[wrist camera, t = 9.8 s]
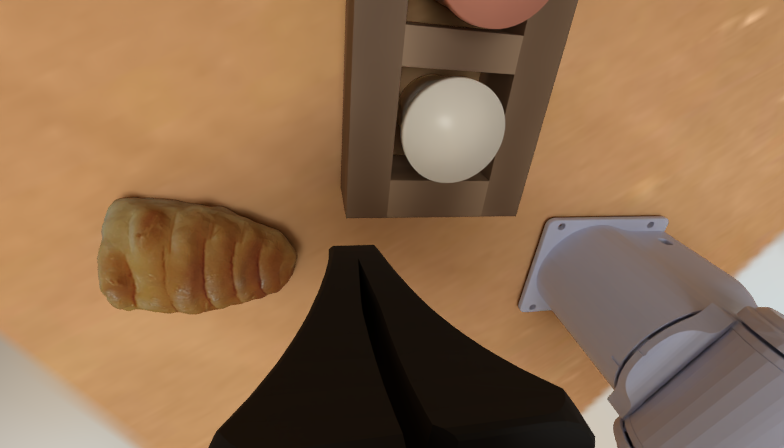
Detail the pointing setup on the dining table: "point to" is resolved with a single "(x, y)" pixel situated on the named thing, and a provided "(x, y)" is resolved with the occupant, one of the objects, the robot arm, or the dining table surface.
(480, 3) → the red plug
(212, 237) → the pastry
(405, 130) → the cream plug
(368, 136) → the plug block
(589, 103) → the dining table surface
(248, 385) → the dining table surface
